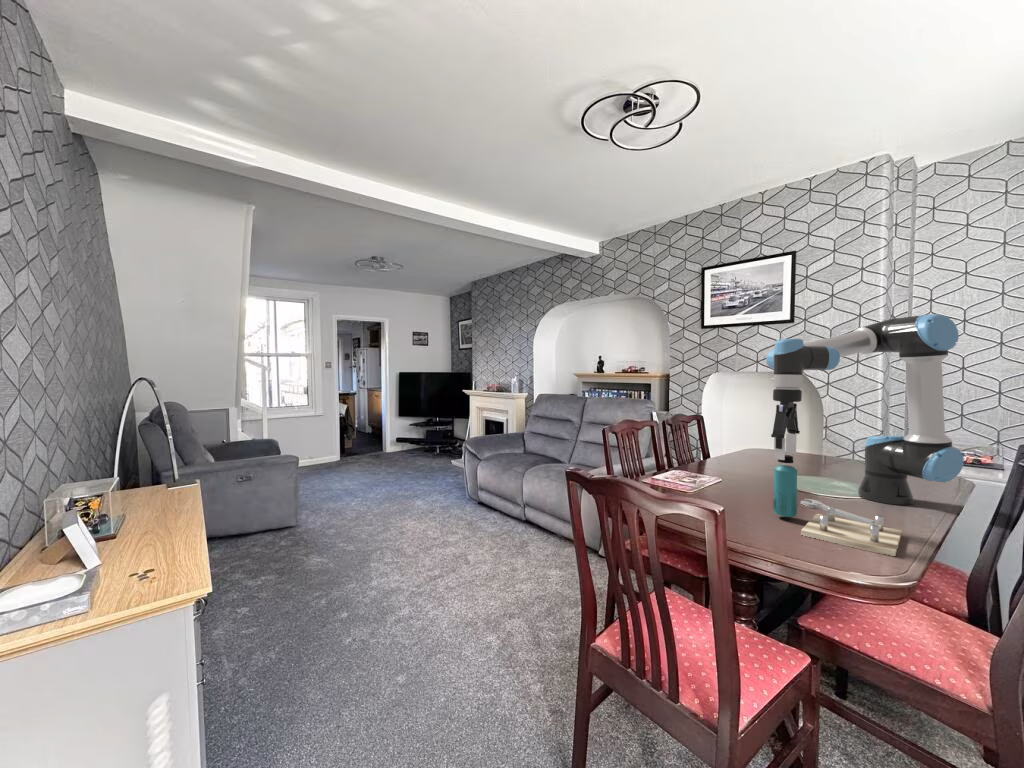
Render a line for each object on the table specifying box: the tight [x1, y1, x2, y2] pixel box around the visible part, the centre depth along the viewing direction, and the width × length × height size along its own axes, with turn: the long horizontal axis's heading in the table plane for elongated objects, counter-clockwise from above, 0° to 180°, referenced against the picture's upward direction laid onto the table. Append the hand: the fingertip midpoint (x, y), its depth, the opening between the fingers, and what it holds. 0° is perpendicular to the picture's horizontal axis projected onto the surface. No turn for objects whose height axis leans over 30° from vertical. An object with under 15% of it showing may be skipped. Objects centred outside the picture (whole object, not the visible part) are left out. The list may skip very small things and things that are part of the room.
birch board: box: [800, 513, 903, 557], centre depth 122 cm, size 20×20×2 cm
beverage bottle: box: [772, 454, 799, 518], centre depth 136 cm, size 6×7×20 cm
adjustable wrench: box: [800, 498, 875, 525], centre depth 141 cm, size 25×6×2 cm, turn 12°
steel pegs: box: [820, 506, 885, 543], centre depth 122 cm, size 13×13×4 cm
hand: (785, 456), depth 136 cm, fingers open, 13 cm apart
